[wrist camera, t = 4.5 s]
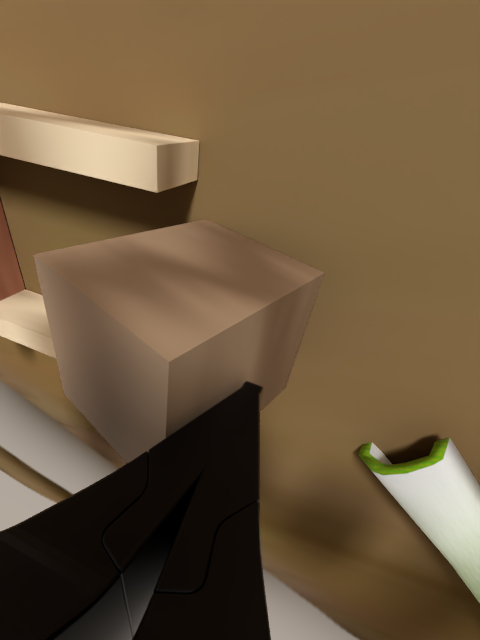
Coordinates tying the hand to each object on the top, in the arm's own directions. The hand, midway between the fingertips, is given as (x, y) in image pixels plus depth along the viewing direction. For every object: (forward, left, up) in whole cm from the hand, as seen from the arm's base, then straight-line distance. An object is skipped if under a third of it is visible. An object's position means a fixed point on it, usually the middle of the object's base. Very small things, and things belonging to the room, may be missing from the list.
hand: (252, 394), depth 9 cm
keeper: (+2, 0, -4) cm, 4 cm away
